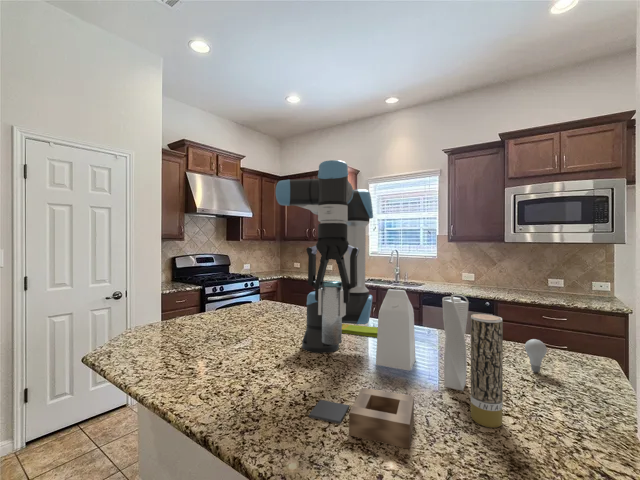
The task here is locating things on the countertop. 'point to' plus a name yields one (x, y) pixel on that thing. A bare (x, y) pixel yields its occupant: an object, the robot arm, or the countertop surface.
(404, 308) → the milk
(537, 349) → the lightbulb
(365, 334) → the dish towel
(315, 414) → the mat
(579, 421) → the countertop surface
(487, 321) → the bark-print cylinder
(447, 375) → the skyscraper
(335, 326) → the teal-capped metal cylinder
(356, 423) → the housing
